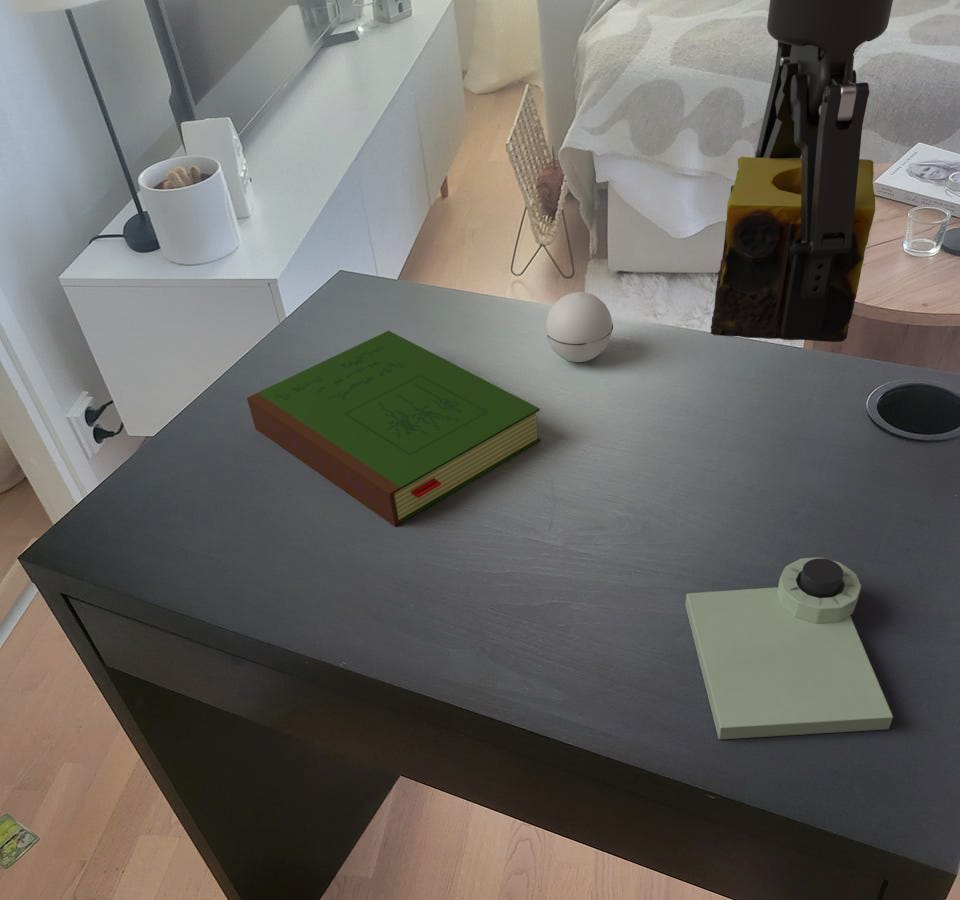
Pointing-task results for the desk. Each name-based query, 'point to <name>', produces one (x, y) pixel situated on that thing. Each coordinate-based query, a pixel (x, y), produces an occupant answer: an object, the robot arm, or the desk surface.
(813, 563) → the button
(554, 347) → the white ball
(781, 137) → the robot arm
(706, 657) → the scale
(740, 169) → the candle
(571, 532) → the desk surface
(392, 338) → the hardcover book
